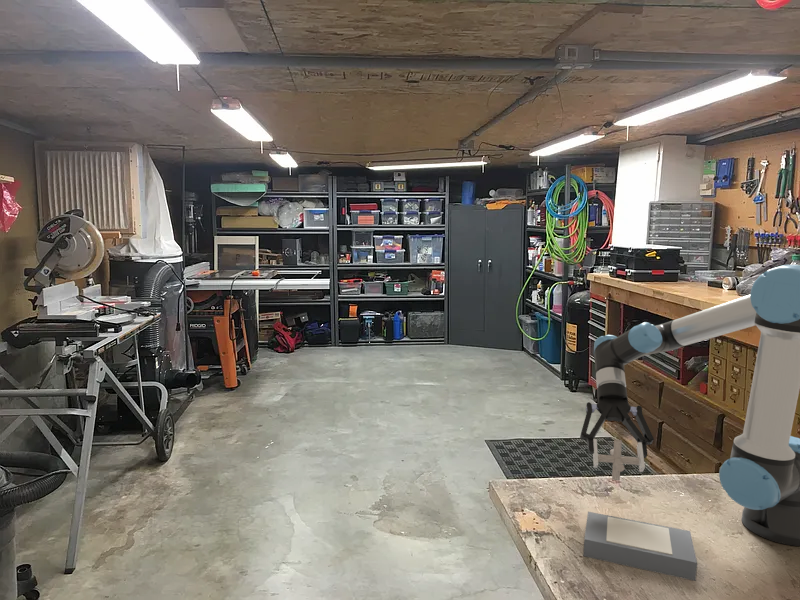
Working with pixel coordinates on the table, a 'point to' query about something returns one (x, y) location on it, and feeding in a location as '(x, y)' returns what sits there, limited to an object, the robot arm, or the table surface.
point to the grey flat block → (640, 545)
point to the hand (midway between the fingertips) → (618, 467)
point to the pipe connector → (617, 459)
